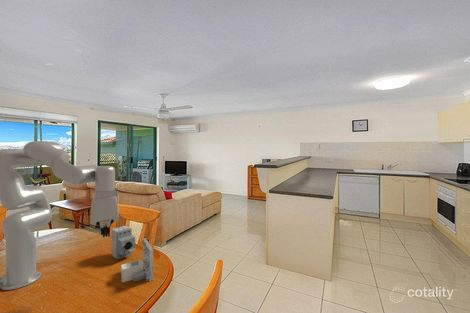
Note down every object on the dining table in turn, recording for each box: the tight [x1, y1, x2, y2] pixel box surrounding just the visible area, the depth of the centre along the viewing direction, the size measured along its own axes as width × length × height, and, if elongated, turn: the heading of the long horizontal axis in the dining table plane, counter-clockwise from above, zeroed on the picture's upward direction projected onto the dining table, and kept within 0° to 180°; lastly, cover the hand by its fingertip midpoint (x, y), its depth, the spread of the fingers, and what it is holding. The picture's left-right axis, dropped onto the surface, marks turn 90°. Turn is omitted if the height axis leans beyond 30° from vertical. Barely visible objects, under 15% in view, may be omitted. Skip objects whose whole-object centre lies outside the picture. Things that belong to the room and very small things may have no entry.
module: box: [120, 259, 144, 283], centre depth 97 cm, size 9×5×6 cm, turn 123°
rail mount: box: [132, 237, 154, 283], centre depth 99 cm, size 8×16×14 cm, turn 35°
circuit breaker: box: [110, 225, 136, 260], centre depth 116 cm, size 8×14×15 cm, turn 53°
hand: (105, 235), depth 90 cm, fingers closed
